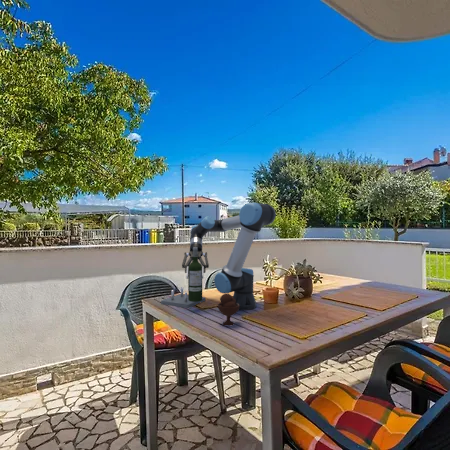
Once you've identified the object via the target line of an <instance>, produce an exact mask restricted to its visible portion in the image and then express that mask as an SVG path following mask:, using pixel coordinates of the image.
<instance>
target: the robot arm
mask: <svg viewBox="0 0 450 450" xmlns="http://www.w3.org/2000/svg"><path fill="white" fill-rule="evenodd" d="M276 215H277V214H276V210H275V209H274V207H273V206H272V205H270V204H268V203H258V202H247V203H245V204H244V205H242V206H241V208H240V209H239V214H238V215H235V216H230V217H225V218H222V219H214V218H213V217H212V216H209V215H207V216H205V217H204V218H203V219H201V220H200V222H199V223H198V224H196V225H193V226H192V227H191V229H190V241H189V242H190V243H189V252H183V255H184V257H183V260H182V263H181V268H182V269H184V273H185V274H186V275H185V277H186V279H188V266H189V265H190V264H191V263H192V261H193V247H197V248H198V262H199V263H200V264H201V265H202V280H203V279H204V274H205V273H206V270H207V269H209V266H210V263H209V259H208V251H207V252H204V251H203V238H204V237H205V236H206V234H207V233H209V232H211V233H212V232H213V233H214V232H215V233H216V232H217V233H218V232H220V233H224V232H227V231H229V230H235V229H236V230H237V229H239V232H238V235H237V237H236V240H235V241H234V245H233V247H232V250H231V253H230V256H229V259H228V261H227V263H226V264H225V265H223V266H222V268H221V272H218V273H216V274H215V276H214V280H213V282H214V286H215V288H216V290H217V291H218V292H219V293H221V294H229V293H233V295H232V297H233V298H235V299H236V303H238V304H239V305H240V307H239V310H240V311H241V310H243V311H244V310H245V311H246V310H254V309H256V308H257V302H256V298H255V295H254V276H255V275H254V270H253V269H252V268H245V267H243V266H244V264H245V262H246V259H247V257H248V254H249V252H250V249H251V247H252V245H253V242H254V239H255V237H256V235H257V233H260V232H261V230H262V228H263V226H268V225H271V224H272V223H274V221H275V220H276ZM188 257H189V258H188ZM202 257H204V260H205V261H204V260H203V258H202ZM187 259H188V260H187Z"/></svg>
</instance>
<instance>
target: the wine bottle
mask: <svg viewBox="0 0 450 450" xmlns="http://www.w3.org/2000/svg"><path fill="white" fill-rule="evenodd" d="M187 283H188V285H187V286H188V287H187V289H188V290H187V295H188V300H189V301H191V302H198V301H202V297H203V279H202V264H201V263H200V261H199V259H198V248H197V247H193V260H192V261H191V263H190V265H189V266H188V281H187Z"/></svg>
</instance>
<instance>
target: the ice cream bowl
mask: <svg viewBox="0 0 450 450" xmlns="http://www.w3.org/2000/svg"><path fill="white" fill-rule="evenodd" d="M219 301H220V302H219V303H217V308H218V311H219V313H220V314H221V315H223V316H226V320H225V321H223V323H222V325H223V326H225V325H232V326H234V325H233V324H235V323H234V321H232V320H231V317H232V316H234V315H235V314H237V313H238V311H239V310H240V309H239V307H240V305H239V304H238V303H236V299H235V298H233V295H231V294H229V293H222V295H221V296H220V298H219Z"/></svg>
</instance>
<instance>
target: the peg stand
mask: <svg viewBox="0 0 450 450" xmlns="http://www.w3.org/2000/svg"><path fill="white" fill-rule="evenodd" d="M170 294H171V295H170V297H167V298H165V299H162V300H160V304H161V305H166V306H172V307H177V308H184V309H190V308H192V307H195V306H196V304H197V305H199V304H201V303H203V301H204V302H206V301H207V299H206V297H205V296H202V301H198V302H191V301H189V300H188V291H184V287H183V286H182V287H180V293H179V294H177V295H175V289H172V290H171V293H170ZM205 300H206V301H205ZM200 302H201V303H200ZM198 303H199V304H198Z"/></svg>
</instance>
